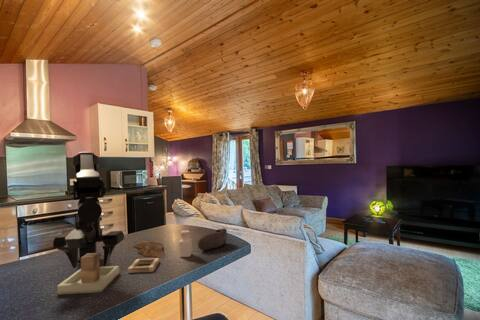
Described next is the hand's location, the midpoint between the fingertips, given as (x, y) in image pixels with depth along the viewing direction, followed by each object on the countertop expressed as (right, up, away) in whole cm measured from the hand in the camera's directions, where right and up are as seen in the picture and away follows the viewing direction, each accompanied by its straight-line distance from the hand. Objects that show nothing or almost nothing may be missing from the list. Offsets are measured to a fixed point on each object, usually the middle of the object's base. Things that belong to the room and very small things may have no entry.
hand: (90, 266), depth 77 cm
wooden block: (0, -4, 0) cm, 4 cm away
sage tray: (0, -5, 0) cm, 5 cm away
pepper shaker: (+25, -5, +20) cm, 33 cm away
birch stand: (+13, -5, +11) cm, 17 cm away
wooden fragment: (+9, -5, +29) cm, 30 cm away
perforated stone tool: (+35, -4, +29) cm, 45 cm away
